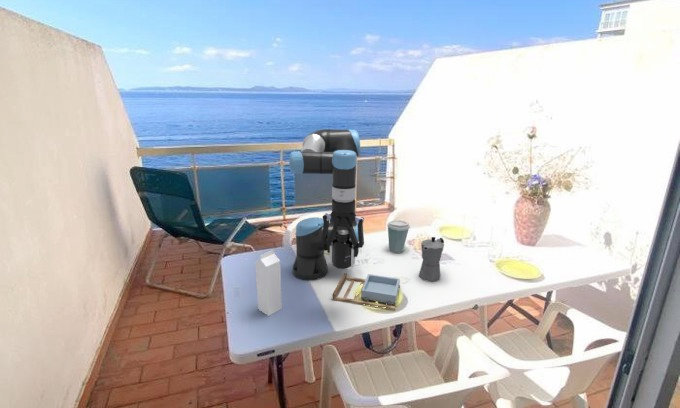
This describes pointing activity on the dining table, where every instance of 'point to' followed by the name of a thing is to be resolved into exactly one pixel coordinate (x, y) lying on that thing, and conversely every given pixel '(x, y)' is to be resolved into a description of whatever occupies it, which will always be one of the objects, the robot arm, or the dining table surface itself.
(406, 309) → the dining table surface
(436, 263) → the coffeepot
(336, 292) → the wooden rack
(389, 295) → the shallow square tray
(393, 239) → the disposable coffee cup
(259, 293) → the milk
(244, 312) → the dining table surface
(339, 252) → the supplement bottle
